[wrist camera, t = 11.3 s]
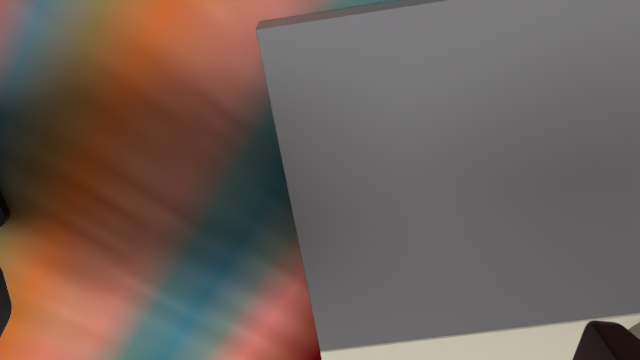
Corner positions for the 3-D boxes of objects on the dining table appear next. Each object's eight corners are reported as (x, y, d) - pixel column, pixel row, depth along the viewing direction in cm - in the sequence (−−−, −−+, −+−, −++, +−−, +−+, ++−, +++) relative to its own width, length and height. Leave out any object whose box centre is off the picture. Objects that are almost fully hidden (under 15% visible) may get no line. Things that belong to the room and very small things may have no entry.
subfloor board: (337, 420, 28) (338, 443, 27) (258, 21, 19) (255, 30, 18) (684, 381, 27) (700, 403, 26) (782, -60, 18) (814, -56, 17)
